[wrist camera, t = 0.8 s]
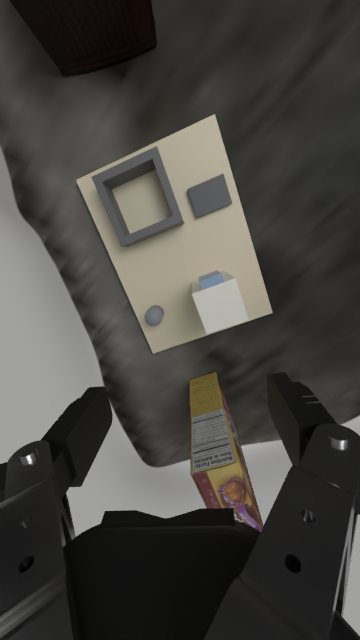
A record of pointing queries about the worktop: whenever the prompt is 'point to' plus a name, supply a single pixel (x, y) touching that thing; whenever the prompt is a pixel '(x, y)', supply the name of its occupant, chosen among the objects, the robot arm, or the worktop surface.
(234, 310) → the plug
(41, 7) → the manual coffee grinder
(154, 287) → the board
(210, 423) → the candy box
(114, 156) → the worktop surface
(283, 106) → the worktop surface
